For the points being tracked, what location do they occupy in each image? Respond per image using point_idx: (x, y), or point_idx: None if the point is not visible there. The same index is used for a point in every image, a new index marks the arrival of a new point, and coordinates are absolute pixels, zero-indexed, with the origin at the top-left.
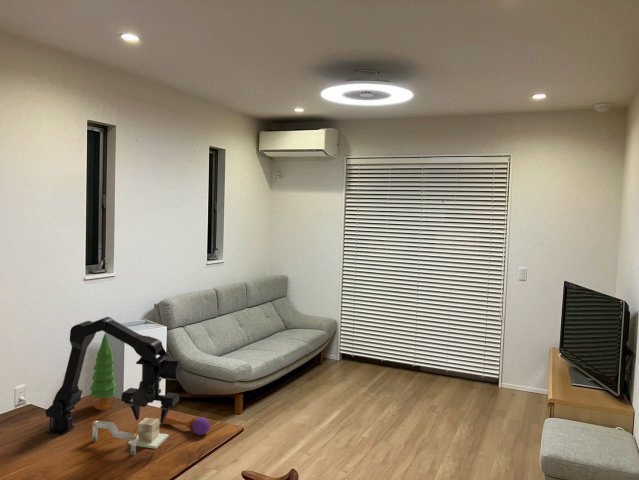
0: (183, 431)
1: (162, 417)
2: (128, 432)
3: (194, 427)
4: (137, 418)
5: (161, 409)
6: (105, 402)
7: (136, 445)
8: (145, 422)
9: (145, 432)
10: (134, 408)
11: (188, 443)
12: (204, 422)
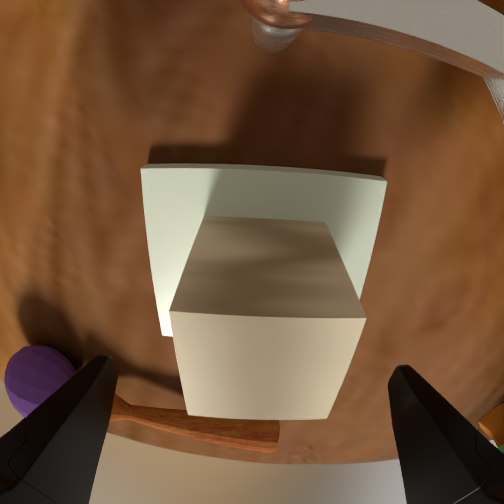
0: (131, 373)
1: (54, 401)
2: (403, 27)
3: (37, 371)
4: (399, 383)
5: (2, 488)
6: (500, 426)
7: (314, 170)
8: (291, 354)
9: (263, 257)
10: (475, 471)
11: (31, 273)
12: (7, 391)
